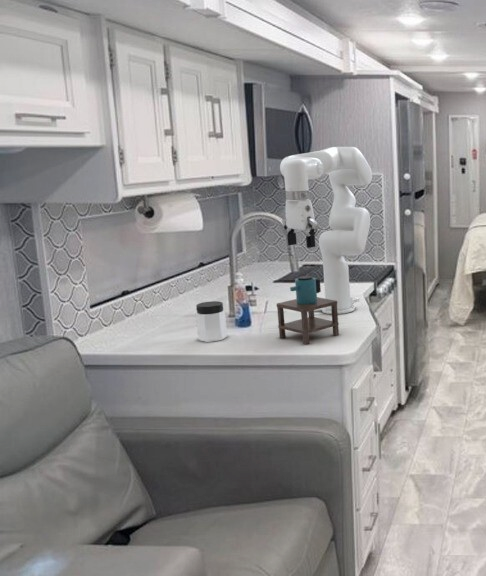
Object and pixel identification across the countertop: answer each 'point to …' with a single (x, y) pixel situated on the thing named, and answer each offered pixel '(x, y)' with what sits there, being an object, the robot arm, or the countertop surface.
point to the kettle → (306, 289)
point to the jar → (211, 321)
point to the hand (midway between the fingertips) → (301, 246)
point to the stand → (307, 318)
